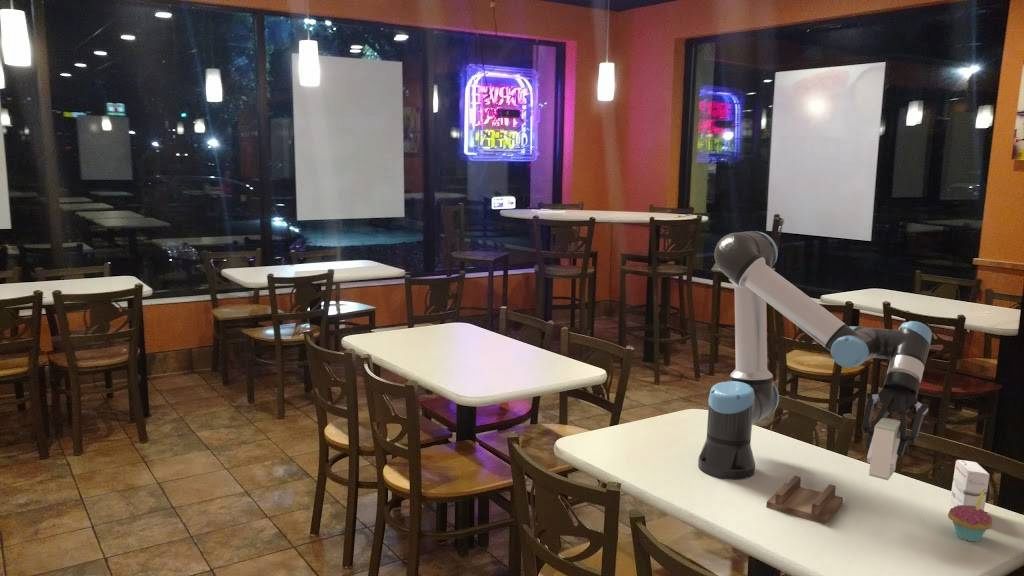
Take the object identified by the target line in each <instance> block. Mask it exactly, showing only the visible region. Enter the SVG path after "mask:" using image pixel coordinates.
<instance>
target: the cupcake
mask: <svg viewBox="0 0 1024 576" xmlns="http://www.w3.org/2000/svg"><path fill="white" fill-rule="evenodd" d="M984 490H985V489H984ZM984 490H983V491H981V494H980V497H979V500H978V503H977V506H973V505H971V506H970V505H969V506H967V505H965V506H964V505H960V506H955V507H953V508H952V507H951V508H950V509H949V512H948V513H947V517H948V518H949V520H950V521H952V523H953V526H954V531H955V535H956V536H957V537H958V538H959V539H961V540H965V541H967V540H968V541H967V542H974V541H975V542H979V541H981V539H982V537H983V535H985V534H984V533H985V532H986V531H987V530H990V529H991V528H992V526H993V517H992V516H990V514H988V513H987V512H986V511H985V509H984V510H982V509H980V505H981V502H982V499H983V496H984V493H985V492H984Z"/></svg>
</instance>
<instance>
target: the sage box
mask: <svg viewBox="0 0 1024 576" xmlns="http://www.w3.org/2000/svg"><path fill="white" fill-rule="evenodd" d="M896 438H898V439H900V420H897V419H892V418H889V417H886V418H882V419H881V420H880V421H879V422H878V423H877V424H876V425H875V428H874V436H873V444H872V453H871V461H870V463H869V471H868V476H870V477H873V478H876V479H881V480H886V481H889V480H890V478H891V477H892V475H894V473H895V471H896V467H897V463H896V464H895V468H894V469H891V468H890V460H891V457H892V453H893V449H894V445H895V441H896Z"/></svg>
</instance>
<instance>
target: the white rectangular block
mask: <svg viewBox="0 0 1024 576" xmlns="http://www.w3.org/2000/svg"><path fill="white" fill-rule="evenodd" d="M989 482H990V473H989V472H988V471H986V469H984V468H983V467H982V466H981V465H980V464H979V463H978V462H976V461H970V460H965V459H956V460H955V465H954V473H953V477H952V483H951V484H952V485H951V493H950V498H949V506H950V507H951V508H953V507H955V506H960V505H964V506H965V505H967V506H969V505H970V506H971V505H973V506H977V503H978V500H979V497H980V494H981V491H983V490H984V489H985V490H984V492H985V493H984V496H983V499H982V502H981V505H980V509H982V510H984V511H985V506H986V500H987V494H988V489H989V488H988V487H989Z"/></svg>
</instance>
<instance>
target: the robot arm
mask: <svg viewBox="0 0 1024 576" xmlns="http://www.w3.org/2000/svg"><path fill="white" fill-rule="evenodd" d="M716 243H717V244H716V246H715V248H714V253H713V255H714V261H715V264H716V265H717V268H718V269H719V270H720V271H721V272H722V274H724V276H726V277H727V278H728V281H729V282H730V283H731V284H732V285H733V286H734V287H733V288H734V339H735V340H734V341H735V342H734V344H735V346H734V348H735V349H734V350H735V369H734V370H733V371H732V372H731V373H730V375H729V377H730V380H728V381H722V382H717V383H716V384H714V385H713V386H711V388H710V391H709V396H708V409H707V425H706V427H707V428H706V438H705V441H704V444H703V447H702V449H701V451H700V453H699V456H698V460H697V461H698V464H697V467H698V466H699V467H698V468H699V469H700V470H701V472H703V473H705V474H707V473H708V474H707V475H711V476H713V477H717V478H722V479H729V480H730V479H731V480H742V479H749V478H751V477H753V476H754V475H755V473H756V461H755V458H754V453H753V450H752V445H751V441H752V429H753V425H755V424H756V423H758V422H760V421H763V420H766V419H768V418H769V417H770V416H771V415H772V414H773V413H774V412H775V411H776V410H777V407H778V405H779V402H780V394H779V393H780V392H779V390H778V388H777V385H775V384H774V376H773V373H772V372H770V371H769V369H768V341H767V340H768V335H767V334H768V332H767V330H768V329H767V328H768V327H767V326H768V323H767V322H768V321H767V304H768V305H769V306H771V307H772V308H774V310H776V311H777V312H779V313H780V314H781V315H782V316H784V317H785V318H786V319H788V320H789V321H790V322H792V323H793V324H794V325H795V326H796V327H798V328H799V329H801V331H803V332H804V333H806V334H807V335H808V336H810V337H811V338H812V339H814V340H815V341H816V342H817V343H819V344H820V345H821V346H822V347H823V348H825V349H827V350H828V351H829V352H830V356H831V358H832V359H833V361H834V363H836V364H837V365H839V366H840V367H843V368H854V367H857V366H861V365H863V364H864V363H865V362H866V361H869V360H871V359H873V358H874V359H883V360H884V359H885V360H886V359H887V360H889V364H888V368H887V371H886V375H885V377H884V378H885V379H884V382H883V385H882V389H881V390H880V391H879V392H878V393H876V394H875V393H874V394H872V393H871V392H867V393H866V401H867V403H866V406H865V410H864V414H863V417H862V421H861V422H862V423H861V431H862V433H863V434H866V435H867V438H866V441H865V446H866V449H868V453H867V455H866V461H867V463H868V464H870V461H871V453H872V444H873V436H874V428H875V425H876V424H877V423H878V422H879V421H880V420H881V419H882V418H888V416H889V415H890V414H891V413H893V414H897V415H899V421H900V436H899V439H898V438H896V441H895V445H894V449H893V453H892V457H891V460H890V468H891V469H894V468H895V464H896V465H897V460H898V456H899V457H903V456H904V454H905V450H906V446H907V445H909V444H911V445H915V444H916V443H917V440H918V437H919V435H920V434H919V433H920V430H921V427H922V423H923V420H924V417H925V416H926V415H928V413H929V406H928V403H921V402H920V401H919V400H918V394H919V391H920V386H921V382H922V379H923V375H924V374H923V373H924V371H925V367H926V366H925V365H926V364H927V363H926V362H927V358H928V355H929V351H930V349H931V342H932V335H933V332H932V331H931V329H930V327H929V326H927V324H924V323H922V322H920V321H917V320H916V321H914V320H909V321H908V322H907V321H905V322H902V323H901V324H900V326H899V328H898V329H888V328H880V327H879V328H877V327H870V326H869V327H868V326H867V327H866V326H863V325H859V326H852V325H850V326H848V324H846V323H845V322H843V321H842V320H841V319H839V318H838V317H837V316H836V315H834V314H832V313H831V312H830V311H828V310H827V309H826V308H825V307H824V306H822V305H821V304H819V303H818V302H816V301H815V300H814V299H813V298H812V297H810V296H809V295H807V294H806V293H805V292H803V291H802V290H801V289H799V288H798V287H797V286H795V285H794V284H793V283H791V282H790V281H789V280H787V279H786V278H785V277H784V276H782V275H781V274H779V273H778V272H776V271H775V270H774V269H773V266H775V264H776V262H777V260H778V253H779V252H778V247H777V244H776V243H775V240H774V239H773V238H771V237H770V235H768V234H766V233H764V232H762V231H756V230H754V231H753V230H749V231H742V232H741V231H739V232H732V233H729V234H728V233H727V234H726V235H724V236H723V237H722V238H720V240H719V241H718V242H716ZM878 401H880V402H879V403H881V409H880V410H879V412H878V414H877V416H876V417H875V418H874V420H873V421H872V416H873V412H874V407H875V405H876V404H877V402H878ZM914 408H915V410H916V411H915V412H916V414H915V418H914V420H913V424H912V427H911V430H910V434H909V435H908V434H907V426H908V425H907V423H908V422H907V413H908V412H910V411H911V410H913V409H914ZM871 422H872V424H871ZM895 469H896V468H895Z"/></svg>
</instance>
